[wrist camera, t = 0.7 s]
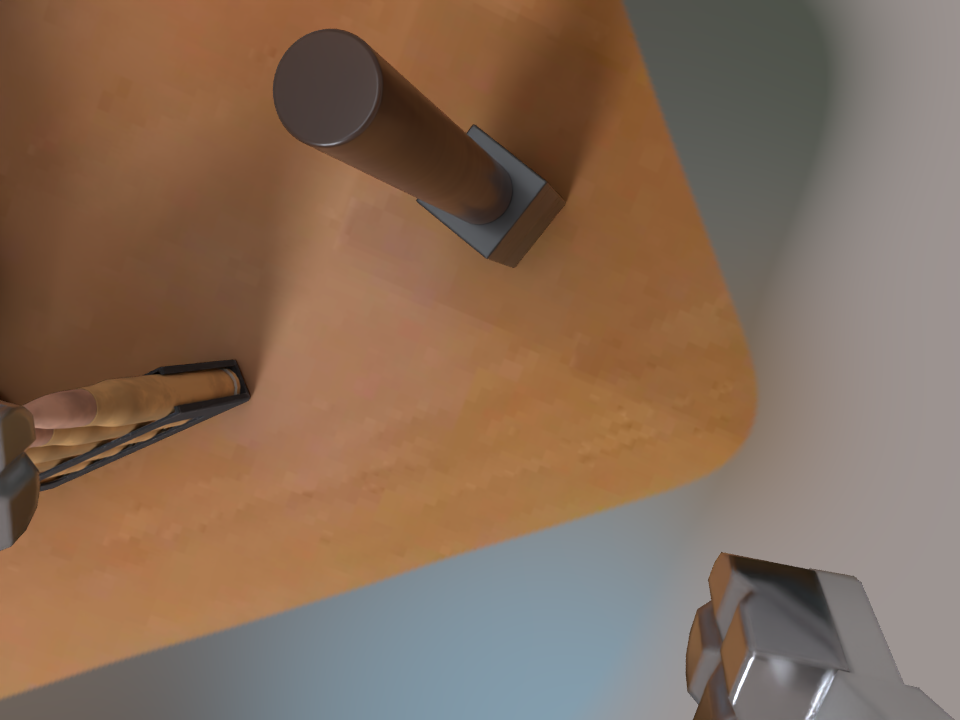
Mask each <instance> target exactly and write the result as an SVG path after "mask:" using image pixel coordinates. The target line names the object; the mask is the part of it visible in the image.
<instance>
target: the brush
mask: <svg viewBox="0 0 960 720" xmlns="http://www.w3.org/2000/svg"><path fill="white" fill-rule="evenodd" d="M273 98H274V104H275V108H276V111H277V114H278V116H279V119H280V121H281V122H282V124H283V126H284V127H285V128H286V129H287V131H288V132H289V133H290V134H291V135H292V136H293V137H295V138H296V139H298V140H299V141H301V142H303V143H305V144H307V145H309V146H311V147H313V148H315V149H317V150H319V151H321V152H323V153H325V154H327V155H329V156H331V157H333V158H335V159H338V160H340V161H342V162H344V163H346V164H348V165H350V166H352V167H354V168H356V169H358V170H360V171H362V172H364V173H366V174H368V175H371V176H373V177H375V178H377V179H379V180H381V181H383V182H385V183H387V184H389V185H391V186H393V187H395V188H397V189H399V190H401V191H404V192H406V193H408V194H410V195H412V196H414V197H416V198H417V200H416V201H417V202H418V203H419V204H420V205H421V206H422V207H424V208H425V209H426V210H427V211H429V212H430V213H431V214H432V215H433V216H435V217H436V218H437V219H438V220H440V221H441V222H442V223H443V224H444V225H446V226H447V227H448V228H449V229H451V230H452V231H453V232H454V233H455V234H457V235H458V236H459V237H460V238H462V239H463V240H464V241H465V242H466V243H468V244H469V245H470V246H471V247H472V248H474V249H475V250H476V251H477V252H479V253H480V254H481V255H482V256H483V257H485V258H486V259H489V260H492V261H495V262H498V263H501V264H504V265H506V266H509V267H512V268H515V267H516V266H517V264H518V263H519V262H520V261H521V259H522V258H523V257H524V256H525V254H526V253H527V252H528V250H529V249H530V248H531V247H532V245H533V244H534V243H535V242H536V240H537V239H538V238H539V237H540V235H541V234H542V233H543V231H544V230H545V229H546V228H547V226H548V225H549V224H550V223H551V221H552V220H553V219H554V218H555V216H556V215H557V214H558V212H559V211H560V210H561V209H562V207H563V206H564V205H565V203H566V202H565V201H564V200H563V199H562V198H561V197H560V195H559V194H558V193H557V192H556V191H555V190H554V189H553V188H552V187H551V186H550V185H549V183H548V182H547V181H546V180H544V179H543V178H542V177H541V176H539V175H538V174H537V173H536V172H534V171H533V170H532V169H530V168H529V167H528V166H527V165H525V164H524V163H523V162H522V161H520V160H519V159H518V158H517V157H515V156H514V155H513V154H512V153H510V152H509V151H508V150H507V149H505V148H504V147H503V146H501V145H500V144H499V143H498V142H496V141H495V140H494V139H493V138H491V137H490V136H489V135H488V134H486V133H485V132H484V131H483V130H481V129H480V128H479V127H477V126H476V125H472V126H471V128H470V129H469V130H468V132H467V133H465V132H464V131H463V130H462V129H461V128H460V127H459V126H457V125H456V124H455V123H454V122H453V121H452V120H451V119H450V118H449V117H448V116H446V115H445V114H444V113H443V112H442V111H441V110H440V109H439V108H438V107H436V106H435V105H434V104H433V103H432V102H431V101H430V100H429V99H428V98H426V97H425V96H424V95H423V94H422V93H421V92H420V91H419V90H418V89H417V88H415V87H414V86H413V85H412V84H411V83H410V82H409V81H408V80H407V79H405V78H404V77H403V76H402V75H401V74H400V73H399V72H398V71H397V70H396V69H394V68H393V67H392V66H391V65H390V64H389V63H388V62H387V61H386V60H384V59H383V58H382V57H381V56H380V55H379V54H378V53H377V52H376V51H375V50H373V49H372V48H371V47H370V46H369V45H368V44H367V43H366V42H365V41H363V40H362V39H361V38H359V37H358V36H356V35H354V34H352V33H350V32H347V31H344V30H339V29H323V30H318V31H314V32H312V33H309V34H307V35H305V36H303V37H302V38H300V39H299V40H297V41H296V42H295V43H294V44H293V45H292V46H291V47H290V48H289V49H288V50H287V51H286V53H285V54H284V55H283V57H282V59H281V60H280V63H279V65H278V67H277V70H276V73H275V77H274V83H273Z"/></svg>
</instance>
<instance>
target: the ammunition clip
mask: <svg viewBox="0 0 960 720" xmlns="http://www.w3.org/2000/svg"><path fill="white" fill-rule="evenodd" d="M249 399H250V395H249V393H248V390H247V388H246V385H245V383H244V380H243V378H242V375H241V373H240V370H239V368H238V365H237V363H236V360H224V361H214V362H204V363H195V364H185V365H175V366H165V367H159V368H157V369H155V370H153V371H151V372H149V373H147V374H145V375H142V376H135V377H126V378H117V379H108V380H104V381H102V382H99V383H97V384H95V385H92V386H87V387H81V388H76V389H74V390H67V391H61V392H56V393H52V394H49V395H45V396H42V397H40V398H37V399H35V400H33V401H31V402H29V403H27V404H25V405H23V406H24V407H25V408H27V409H28V410H29V411H30V412H31V413H32V414H33V416H34V424H35V432H36V440H35V441H34V442H33V443H32V445H31V446H30V447H29V448H28V449H27V450H26V451H25V452H26V454H27V455H28V456H29V458H30V459H31V460H32V462H33V463H34V464H35V466H36V467H37V469H38V470H39V478H40V491H44V490H48V489H52V488H55V487H57V486H59V485H61V484H63V483H66V482H68V481H70V480H72V479H75V478H77V477H79V476H81V475H84V474H86V473H88V472H90V471H93V470H95V469H97V468H99V467H101V466H104V465H106V464H108V463H110V462H113V461H115V460H117V459H119V458H122V457H124V456H126V455H128V454H131V453H133V452H135V451H137V450H139V449H142V448H144V447H146V446H148V445H151V444H153V443H155V442H157V441H160V440H162V439H164V438H166V437H169V436H171V435H173V434H175V433H177V432H180V431H182V430H184V429H186V428H189V427H191V426H193V425H195V424H198V423H200V422H202V421H204V420H207V419H209V418H211V417H213V416H215V415H218V414H220V413H222V412H224V411H227V410H229V409H231V408H233V407H236V406H238V405H240V404H242V403H245V402H247V401H249Z"/></svg>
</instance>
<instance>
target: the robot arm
mask: <svg viewBox="0 0 960 720" xmlns="http://www.w3.org/2000/svg"><path fill="white" fill-rule="evenodd" d="M35 440H36V432H35V424H34V416H33V414H32V413H31V412H30V411H29V410H28V409H27V408H25V407H24V406H21V405H17V404H13V403H8V402H4V401H0V551H1V550H3V549H6V548H9V547H11V546H12V545H13V544H14V543H15V542H16V540H17V539H18V538H19V537H20V536H21V535H22V534H23V533H24V532H25V531H26V529H27V527H28V525H29V523H30V521H31V519H32V517H33V514H34V512H35V510H36V508H37V504H38V498H39V492H40V478H39V470H38V469H37V467H36V466H35V464H34V463H33V462H32V460H31V459H30V458H29V456H28V455H27V454H26V452H25V451H26V450H27V449H28V448H29V447H30V446H31V445H32V443H33V442H34V441H35ZM708 582H709V588H710V593H711V601H709V602H708V603H706V604H705V605H703V606H702V607H700V608H699V609H698V610H697V612H696V615H695V618H694V621H693V624H692V627H691V631H690V636H689V641H688V647H687V653H686V681H687V691H688V693H689V694H690V695H691V696H692V697H693V699H694V700H695V701H696V702H697V704H698V708H697V711H696V713H695V716H694V719H693V720H954V719H953V718H952V717H951V716H950V715H949V714H948V713H946V712H945V711H944V710H943V709H942V708H941V707H940V706H939V705H937V704H936V703H935V702H934V701H933V700H932V699H930V698H929V697H928V696H927V695H926V694H925V693H924V692H923V691H922V690H920V689H919V688H917V687H913V686H908V685H904V683H903V680H902V678H901V675H900V673H899V671H898V668H897V666H896V664H895V661H894V659H893V656H892V654H891V652H890V649H889V647H888V645H887V642H886V640H885V637H884V635H883V633H882V630H881V628H880V626H879V623H878V621H877V618H876V616H875V614H874V612H873V609H872V607H871V604H870V602H869V599H868V597H867V595H866V592H865V590H864V588H863V585H862V583H861V582H860V581H859V580H858V579H857V578H856V577H854V576H850V575H844V574H839V573H832V572H827V571H822V570H816V569H804V568H799V567H793V566H789V565H784V564H778V563H773V562H769V561H764V560H759V559H753V558H748V557H743V556H738V555H733V554H728V553H723V552H721V554H720V555H719V557H718V558H717V560H716V561H715V563H714V565H713V568H712V571H711V573H710V576H709V579H708Z"/></svg>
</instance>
